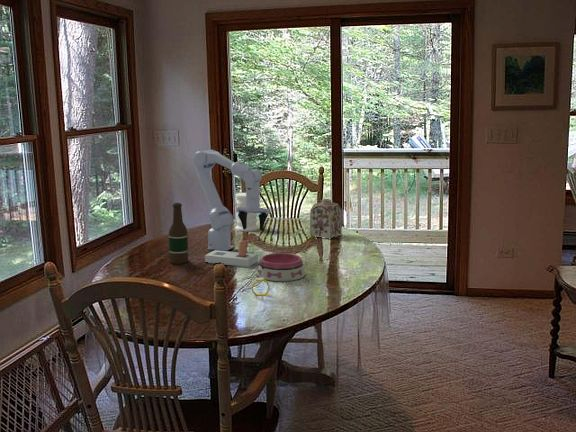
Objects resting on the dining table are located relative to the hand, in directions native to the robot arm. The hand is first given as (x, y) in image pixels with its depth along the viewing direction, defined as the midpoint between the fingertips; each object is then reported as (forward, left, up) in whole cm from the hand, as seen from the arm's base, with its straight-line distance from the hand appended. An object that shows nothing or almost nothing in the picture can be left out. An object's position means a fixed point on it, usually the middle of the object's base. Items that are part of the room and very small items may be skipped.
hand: (253, 229), depth 255 cm
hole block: (-3, -16, -10) cm, 19 cm away
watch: (+24, -51, -11) cm, 57 cm away
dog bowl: (+22, -26, -11) cm, 36 cm away
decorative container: (-22, +44, -11) cm, 50 cm away
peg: (+2, -16, -10) cm, 19 cm away
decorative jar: (+20, +43, -11) cm, 49 cm away
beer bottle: (-23, -23, -11) cm, 34 cm away
